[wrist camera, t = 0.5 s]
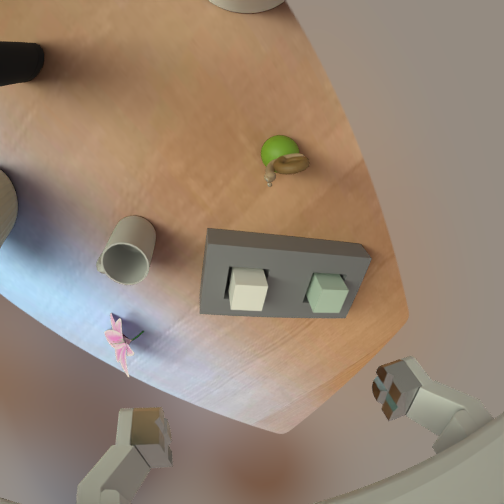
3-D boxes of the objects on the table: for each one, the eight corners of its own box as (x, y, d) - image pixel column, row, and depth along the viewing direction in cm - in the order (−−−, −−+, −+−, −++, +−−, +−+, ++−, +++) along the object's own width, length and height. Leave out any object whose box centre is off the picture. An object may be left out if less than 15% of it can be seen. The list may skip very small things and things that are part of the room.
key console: (207, 228, 51) (207, 243, 47) (360, 243, 57) (371, 258, 52) (199, 295, 58) (199, 313, 54) (337, 301, 64) (345, 318, 59)
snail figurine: (247, 140, 44) (260, 161, 34) (288, 127, 44) (314, 145, 34) (257, 173, 47) (273, 204, 37) (297, 160, 47) (323, 188, 37)
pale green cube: (313, 271, 54) (322, 289, 50) (338, 273, 55) (348, 290, 51) (305, 294, 56) (313, 312, 52) (330, 295, 57) (339, 312, 53)
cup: (164, 243, 51) (158, 274, 44) (116, 264, 52) (104, 296, 44) (143, 207, 47) (132, 234, 40) (94, 231, 48) (77, 261, 41)
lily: (133, 294, 57) (100, 321, 49) (171, 341, 59) (143, 372, 51) (109, 313, 63) (80, 337, 55) (142, 354, 65) (117, 381, 57)
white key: (232, 265, 51) (235, 284, 47) (262, 267, 52) (268, 286, 48) (228, 289, 54) (230, 309, 49) (257, 291, 55) (261, 311, 50)
